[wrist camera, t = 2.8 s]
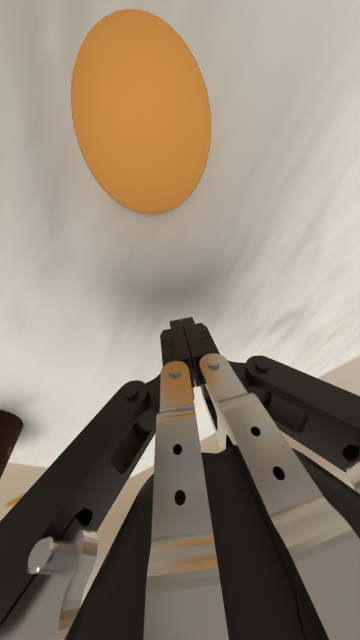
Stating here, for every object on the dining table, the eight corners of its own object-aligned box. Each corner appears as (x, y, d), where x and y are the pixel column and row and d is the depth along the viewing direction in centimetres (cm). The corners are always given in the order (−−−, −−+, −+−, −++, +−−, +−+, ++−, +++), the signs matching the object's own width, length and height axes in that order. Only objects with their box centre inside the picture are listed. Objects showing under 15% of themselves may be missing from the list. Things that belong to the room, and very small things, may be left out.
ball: (74, 83, 9) (-21, -75, 4) (190, 71, 9) (239, -92, 4) (114, 219, 12) (90, 227, 7) (197, 206, 13) (230, 205, 8)
